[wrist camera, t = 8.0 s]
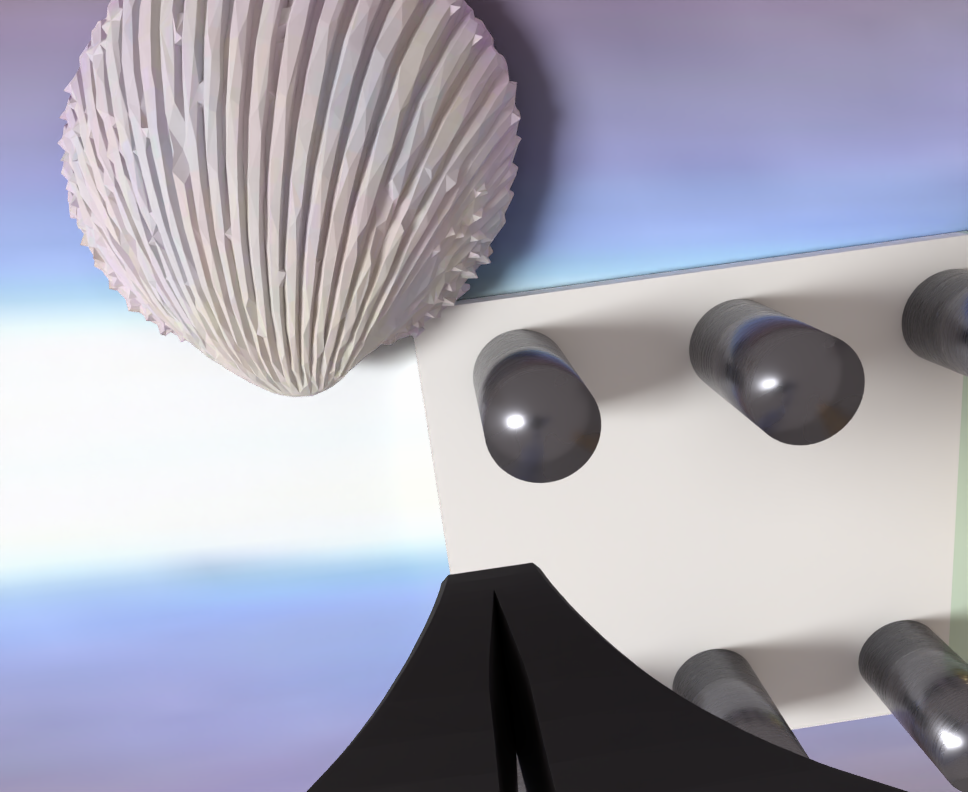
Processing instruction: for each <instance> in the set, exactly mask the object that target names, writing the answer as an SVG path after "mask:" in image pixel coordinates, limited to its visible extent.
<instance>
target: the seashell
mask: <svg viewBox="0 0 968 792" xmlns="http://www.w3.org/2000/svg"><path fill="white" fill-rule="evenodd" d="M79 62H80V67H79V69H78V71H77V73H76V75H75V76H74V78H73V79H72V81H71V82H70V83H69V84H68V86H67V87H66V88H65V90H64V91H66V92H68V93H71V96H70V98H69V100H68V103H67V107H66V110H65V111H64V112H63V113H62V114H61V116H60V118H61V119H64V120H67V122H68V123H67V124H66V125H64V130H63V136H62V138H61V139H60V140H59V142H58V144H59V145H60V146H61V147H62V148H63V149H64V150H65V153H64V155H63V157H62V159H61V161H64V163H63V168H62V172H61V174H62V175H63V176H64V177H65V178H66V179H67V180H68V183H67V187H66V190H68V202H69V211H70V218H76V219H77V226H78V228H79V229H81V230H82V232H83V233H84V235H83V238H82V241H81V244H80V245H83V246H88V247H89V249H90V251H91V252H92V254H93V259H94V260H95V263H94V266H95V267H97V268H98V269H100V270H102V271H103V273H104V274H105V275H106V277H107V278H108V279H109V289H113V290H117V291H118V292H119V293H120V294H121V295H122V296H123V297H124V298H125V299H126V303H127V307H128V310H129V311H132V312H140V313H141V314H143V315H144V317H145V319H146V321H151V322H153V323H155V324H157V325H158V328H159V331H160V334H162V335H165V336H166V335H167V334H168V333H170V332H172V333H173V334H175V335H177V336H178V338H179V339H180V341H181V342H183V341H185V340H186V341H188V342H190V343H191V344H192V345H193V346H195V347H196V348H197V349H199V350H200V351H201V352H202V353H204V354H205V355H206V356H207V357H208V358H210V359H211V360H213V361H215V362H216V363H218V364H220V365H222V366H223V367H224V368H226V369H227V370H229V371H231V372H232V373H234V374H236V375H238V376H239V377H241V378H243V379H245V380H247V381H248V382H250V383H252V384H254V385H256V386H259V387H261V388H263V389H265V390H268V391H270V392H272V393H276V394H279V395H285V396H291V397H301V396H313V395H316V394H318V393H320V392H323V391H325V390H327V389H329V388H330V387H332V386H334V385H335V384H336V383H337V382H339V381H340V380H341V379H342V378H343V377H344V376H345V375H346V374H347V373H348V372H349V371H350V370H351V369H352V368H354V367H355V366H356V365H357V364H358V363H359V362H360V361H361V360H362V359H363V358H364V357H365V356H367V355H368V354H369V353H371V352H372V351H374V350H375V349H377V348H378V347H379V346H380V345H381V344H386V345H392V344H393V343H395V342H396V341H397V340H399V339H402V338H405V337H408V336H410V335H411V336H412V337H414V338H416V337H417V336H419V335H420V334H421V333H422V332H423V331H424V330H425V329H424V328H423V326H424V322H426V321H427V320H429V319H431V318H432V317H433V318H441V311H442V310H443V309H445V308H446V307H448V306H454V304H455V301H456V300H457V299H458V298H460V297H461V296H462V295H463V294H465V293H466V292H467V291H468V290H470V284H466V283H465V282H466V281H467V279H468V278H478V276H477V274H476V272H475V270H476V269H477V268H478V267H479V266H480V265H481V264H489V263H491V261H490V259H489V258H488V257H489V256H490V255H491V254H492V253H493V250H492V248H491V247H490V244H491V243H492V241H493V240H494V238H495V237H496V236H497V234H498V233H499V231H500V230H501V228H502V227H503V226H504V224H505V223H506V219H505V212H506V210H507V208H508V206H509V204H510V202H511V200H512V198H513V196H514V193H513V191H511V190H510V187H511V185H512V183H513V181H514V179H515V177H516V174H517V171H518V167H517V166H516V165H515V164H514V163H512V162H513V159H514V156H515V153H516V150H517V147H518V144H519V142H520V140H521V139H522V138H520V137H519V136H517V135H516V133H517V129H518V124H519V120H520V119H521V117H520V112H519V110H517V108H516V106H515V95H516V87H517V82H513V81H509V74H508V66H507V63H506V60H505V58H504V56H503V55H501V54H499V53H498V52H497V50H496V49H495V48H494V39H493V37H492V36H491V34H490V33H489V32H488V30H487V28H486V27H485V25H484V23H483V22H482V20H480V19H478V18H476V17H474V12H473V9H472V8H471V7H470V6H468V5H467V3H466V2H465V1H464V0H111V2H110V3H109V5H108V8H107V17H106V18H105V19H104V20H101V21H98V22H97V25H96V27H95V28H94V29H93V30H92V34H91V41H90V42H89V43H88V45H87V46H86V48H85V49H84V51H83V52H82V54H81V55H80V57H79Z"/></svg>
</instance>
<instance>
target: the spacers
mask: <svg viewBox="0 0 968 792" xmlns="http://www.w3.org/2000/svg"><path fill="white" fill-rule="evenodd" d="M902 332H903V336H904V339H905V341H906V343H907V345H908V347H909V348H910V349H911V350H912V351H913V352H914V353H915V354H916V355H918V356H919V357H921V358H923V359H925V360H928V361H930V362H933V363H935V364H937V365H940V366H942V367H945V368H947V369H950V370H952V371H954V372H957V373H959V374H962V375H964V376H967V377H968V270H963V269H949V270H944V271H941V272H938V273H936V274H934V275H932V276H930V277H928V278H927V279H925V280H924V281H923V282H922V283H920V284H919V285H918V286H917V287H916V289H915V290H914V291H913V292H912V294H911V295H910V297H909V299H908V301H907V303H906V305H905V308H904V310H903V315H902ZM689 355H690V361H691V364H692V367H693V369H694V371H695V373H696V374H697V376H698V377H699V378H700V379H701V380H702V381H703V382H704V383H705V384H707V385H708V386H709V387H710V388H711V389H713V390H714V391H715V392H716V393H718V394H719V395H720V396H721V397H722V398H724V399H725V400H726V401H727V402H729V403H730V404H731V405H732V406H733V407H735V408H736V409H737V410H738V411H740V412H741V413H742V414H743V415H744V416H746V417H747V418H748V419H749V420H750V421H752V422H753V423H754V424H755V425H757V426H758V427H759V428H760V429H761V430H763V431H764V432H765V433H766V434H768V435H769V436H770V437H772V438H773V439H775V440H777V441H779V442H782V443H785V444H790V445H800V446H801V445H810V444H815V443H818V442H821V441H824V440H826V439H828V438H830V437H832V436H833V435H835V434H836V433H838V432H839V431H840V430H842V429H843V428H844V427H845V426H846V425H847V424H848V423H849V421H850V420H851V419H852V418H853V416H854V415H855V413H856V412H857V410H858V408H859V406H860V403H861V401H862V398H863V393H864V387H865V375H864V370H863V366H862V363H861V361H860V359H859V357H858V355H857V354H856V353H855V351H854V350H853V349H852V348H851V347H850V346H849V345H848V344H847V343H845V342H844V341H842V340H841V339H839V338H837V337H835V336H832V335H830V334H828V333H826V332H823V331H821V330H819V329H817V328H814V327H812V326H810V325H808V324H805V323H803V322H801V321H799V320H796V319H794V318H792V317H790V316H788V315H785V314H783V313H781V312H779V311H776V310H774V309H772V308H770V307H767V306H765V305H763V304H761V303H758V302H756V301H753V300H748V299H733V300H728V301H725V302H722V303H720V304H718V305H716V306H715V307H713V308H711V309H710V310H709V311H708V312H706V313H705V314H704V315H703V317H702V318H701V319H700V320H699V322H698V323H697V325H696V326H695V328H694V330H693V333H692V336H691V339H690V345H689ZM473 384H474V389H475V394H476V398H477V403H478V408H479V413H480V418H481V423H482V427H483V432H484V437H485V442H486V446H487V448H488V451H489V453H490V455H491V457H492V458H493V460H494V461H495V462H496V464H497V465H498V466H499V467H500V468H501V469H502V470H504V471H505V472H506V473H508V474H509V475H511V476H513V477H515V478H517V479H519V480H523V481H526V482H532V483H549V482H554V481H558V480H561V479H564V478H566V477H568V476H570V475H572V474H573V473H575V472H576V471H578V470H579V469H580V468H581V467H583V466H584V465H585V463H586V462H587V461H588V460H589V459H590V457H591V456H592V455H593V453H594V451H595V449H596V447H597V445H598V442H599V438H600V434H601V416H600V411H599V408H598V405H597V403H596V401H595V399H594V397H593V396H592V394H591V393H590V391H589V390H588V388H587V387H586V385H585V384H584V383H583V381H582V380H581V378H580V377H579V375H578V374H577V372H576V371H575V370H574V368H573V367H572V365H571V364H570V362H569V361H568V359H567V358H566V356H565V355H564V354H563V352H562V351H561V349H560V348H559V347H558V345H557V344H556V343H555V342H554V341H553V340H551V339H550V338H549V337H547V336H546V335H544V334H542V333H539V332H536V331H533V330H525V329H519V330H512V331H508V332H505V333H502V334H500V335H498V336H496V337H495V338H493V339H492V340H491V341H490V342H488V343H487V344H486V345H485V347H484V348H483V349H482V350H481V352H480V353H479V355H478V357H477V359H476V362H475V365H474V370H473ZM858 666H859V671H860V674H861V676H862V678H863V679H864V680H865V682H866V683H867V684H868V685H869V686H870V688H871V689H872V690H873V691H874V692H875V694H876V695H877V696H878V697H879V698H880V700H881V701H882V702H883V703H884V704H885V706H886V707H887V708H888V709H889V710H890V712H891V713H892V714H893V715H894V716H895V718H896V719H897V720H898V721H899V722H900V724H901V725H902V726H903V727H904V728H905V730H906V731H907V732H908V733H909V734H910V736H911V737H912V738H913V739H914V740H915V742H916V743H917V744H918V745H919V746H920V748H921V749H922V750H923V751H924V752H925V754H926V755H927V756H928V757H929V758H930V760H931V761H932V762H933V763H934V764H935V766H936V767H937V768H938V769H939V770H940V772H941V773H942V774H943V775H944V776H945V778H946V779H947V780H948V781H949V782H950V783H951V785H953V786H954V787H955V788H956V789H958V790H960V791H962V792H968V664H967V663H966V662H965V661H964V660H963V659H962V658H961V657H960V656H959V655H958V654H957V653H955V652H954V651H953V650H952V649H951V648H950V647H949V646H948V645H947V644H946V643H945V642H944V641H943V640H942V639H941V638H940V637H938V636H937V635H936V634H935V633H934V632H933V631H932V630H931V629H930V628H929V627H928V626H926V625H924V624H922V623H920V622H917V621H912V620H901V621H896V622H892V623H889V624H887V625H885V626H883V627H881V628H879V629H878V630H877V631H875V632H874V633H873V634H872V635H871V636H870V637H869V638H868V639H867V640H866V642H865V643H864V645H863V647H862V649H861V651H860V654H859V660H858ZM672 691H674V692H675V693H677V694H678V695H680V696H682V697H683V698H685V699H687V700H688V701H690V702H692V703H693V704H695V705H697V706H699V707H700V708H702V709H704V710H706V711H708V712H709V713H711V714H713V715H715V716H717V717H719V718H721V719H723V720H725V721H727V722H728V723H730V724H732V725H734V726H736V727H738V728H740V729H742V730H744V731H746V732H748V733H750V734H752V735H755V736H757V737H759V738H761V739H763V740H766V741H768V742H770V743H772V744H774V745H777V746H779V747H782V748H784V749H787V750H789V751H791V752H794V753H796V754H799V755H801V756H804V757H806V758H809V757H808V756H807V754H806V753H805V751H804V749H803V748H802V746H801V745H800V743H799V742H798V740H797V738H796V737H795V735H794V734H793V732H792V730H791V729H790V727H789V726H788V724H787V723H786V721H785V719H784V718H783V716H782V715H781V713H780V712H779V710H778V708H777V707H776V705H775V704H774V702H773V701H772V699H771V697H770V696H769V694H768V693H767V691H766V689H765V688H764V686H763V685H762V683H761V682H760V680H759V678H758V677H757V675H756V674H755V672H754V671H753V669H752V667H751V666H750V664H749V663H748V661H747V660H746V659H745V658H744V657H742V656H741V655H740V654H738V653H736V652H734V651H731V650H727V649H710V650H706V651H703V652H700V653H698V654H696V655H694V656H692V657H691V658H689V659H688V660H687V661H686V662H685V663H684V664H683V665H682V666H681V667H680V668H679V670H678V671H677V673H676V675H675V677H674V681H673V686H672ZM517 774H518V792H526V788H525V784H524V781H523V777H522V773H521V769H520V765H519V761H518V757H517Z"/></svg>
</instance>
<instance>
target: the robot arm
mask: <svg viewBox="0 0 968 792" xmlns="http://www.w3.org/2000/svg"><path fill="white" fill-rule="evenodd" d="M517 757H518V761H519V765H520V769H521V773H522V777H523V781H524V784H525V788H526V792H907V791H904V790H901V789H898V788H895V787H892V786H888V785H885V784H882V783H879V782H876V781H873V780H870V779H867V778H863V777H860V776H857V775H854V774H851V773H848V772H845V771H841V770H838V769H835V768H832V767H829V766H827V765H824V764H821V763H818V762H816V761H814V760H811V759H809V758H806V757H804V756H801V755H799V754H796V753H794V752H791V751H789V750H787V749H784V748H782V747H779V746H777V745H774V744H772V743H770V742H768V741H766V740H763V739H761V738H759V737H757V736H755V735H752V734H750V733H748V732H746V731H744V730H742V729H740V728H738V727H736V726H734V725H732V724H730V723H728V722H727V721H725V720H723V719H721V718H719V717H717V716H715V715H713V714H711V713H709V712H708V711H706V710H704V709H702V708H700V707H699V706H697V705H695V704H693V703H692V702H690V701H688V700H687V699H685V698H683V697H682V696H680V695H678V694H677V693H675V692H674V691H672V690H671V689H669V688H668V687H666V686H665V685H663V684H662V683H660V682H659V681H657V680H656V679H654V678H653V677H652V676H650V675H649V674H648V673H646V672H645V671H644V670H642V669H641V668H640V667H638V666H637V665H636V664H635V663H633V662H632V661H631V660H630V659H629V658H627V657H626V656H625V655H624V654H622V653H621V652H620V651H619V650H618V649H616V648H615V647H614V646H613V645H612V644H611V643H610V642H608V641H607V640H606V639H605V638H604V637H603V636H602V635H601V634H600V633H599V632H597V631H596V630H595V629H594V628H593V627H592V626H591V625H590V624H589V623H588V622H587V621H586V620H585V619H584V618H583V617H582V616H581V615H580V614H579V613H578V612H577V611H576V610H575V609H574V608H573V607H572V606H571V605H570V604H569V603H568V602H567V600H566V599H565V598H564V597H563V596H562V595H561V594H560V593H559V592H558V590H557V589H556V588H555V587H554V586H553V584H552V583H551V582H550V581H549V579H548V578H547V577H546V576H545V574H544V573H543V571H542V570H541V569H540V568H539V567H538V566H536V565H535V564H534V563H533V562H532V563H525V564H519V565H512V566H505V567H498V568H492V569H485V570H478V571H471V572H465V573H458V574H451V575H448V576H447V577H446V578H445V580H444V581H443V582H442V583H441V587H440V591H439V594H438V596H437V599H436V602H435V604H434V607H433V609H432V611H431V614H430V616H429V618H428V620H427V623H426V625H425V627H424V629H423V631H422V633H421V635H420V637H419V639H418V641H417V642H416V644H415V646H414V648H413V650H412V652H411V654H410V656H409V658H408V660H407V661H406V663H405V665H404V666H403V668H402V670H401V671H400V673H399V675H398V676H397V678H396V679H395V681H394V683H393V684H392V686H391V687H390V689H389V691H388V692H387V694H386V696H385V697H384V699H383V700H382V702H381V703H380V705H379V706H378V707H377V709H376V710H375V712H374V713H373V715H372V716H371V717H370V719H369V720H368V721H367V723H366V724H365V725H364V727H363V728H362V729H361V731H360V732H359V733H358V734H357V736H356V737H355V738H354V740H353V741H352V742H351V743H350V745H349V746H348V747H347V748H346V750H345V751H344V752H343V753H342V754H341V755H340V756H339V758H338V759H337V760H336V761H335V762H334V763H333V764H332V765H331V766H330V768H329V769H328V770H327V771H326V772H325V773H324V774H323V775H322V776H321V777H320V778H319V779H318V780H317V781H316V782H315V783H314V784H313V786H312V787H311V788H310V789H309V790H308V791H307V792H518V774H517Z"/></svg>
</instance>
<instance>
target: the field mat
mask: <svg viewBox="0 0 968 792" xmlns="http://www.w3.org/2000/svg"><path fill="white" fill-rule="evenodd" d="M949 269H963V270H968V231H961V232H953V233H946V234H939V235H932V236H924V237H917V238H910V239H902V240H895V241H888V242H881V243H873V244H866V245H859V246H852V247H844V248H837V249H830V250H823V251H815V252H808V253H801V254H794V255H786V256H779V257H772V258H765V259H757V260H750V261H743V262H736V263H728V264H721V265H714V266H707V267H699V268H692V269H685V270H677V271H670V272H663V273H656V274H648V275H641V276H634V277H627V278H619V279H612V280H605V281H598V282H590V283H583V284H576V285H569V286H561V287H554V288H547V289H540V290H532V291H525V292H518V293H511V294H503V295H496V296H489V297H482V298H474V299H467V300H460V301H455V304H454V306H448V307H446V308H445V309H443V310H442V311H441V318H433V317H432V318H431V319H429V320H427V321H426V322H424V326H423V328H424V329H425V330H424V331H423V332H422V333H421V334H420V335H419V336H417V337H416V338H414V344H415V350H416V356H417V363H418V369H419V376H420V382H421V389H422V395H423V401H424V408H425V414H426V421H427V427H428V433H429V440H430V446H431V453H432V459H433V465H434V472H435V478H436V485H437V491H438V498H439V504H440V510H441V517H442V523H443V530H444V536H445V542H446V549H447V555H448V562H449V568H450V574H458V573H465V572H471V571H478V570H485V569H492V568H498V567H505V566H512V565H519V564H525V563H532V562H533V563H534V564H535V565H536V566H538V567H539V568H540V569H541V570H542V571H543V573H544V574H545V576H546V577H547V578H548V579H549V581H550V582H551V583H552V584H553V586H554V587H555V588H556V589H557V590H558V592H559V593H560V594H561V595H562V596H563V597H564V598H565V599H566V600H567V602H568V603H569V604H570V605H571V606H572V607H573V608H574V609H575V610H576V611H577V612H578V613H579V614H580V615H581V616H582V617H583V618H584V619H585V620H586V621H587V622H588V623H589V624H590V625H591V626H592V627H593V628H594V629H595V630H596V631H597V632H599V633H600V634H601V635H602V636H603V637H604V638H605V639H606V640H607V641H608V642H610V643H611V644H612V645H613V646H614V647H615V648H616V649H618V650H619V651H620V652H621V653H622V654H624V655H625V656H626V657H627V658H629V659H630V660H631V661H632V662H633V663H635V664H636V665H637V666H638V667H640V668H641V669H642V670H644V671H645V672H646V673H648V674H649V675H650V676H652V677H653V678H654V679H656V680H657V681H659V682H660V683H662V684H663V685H665V686H666V687H668V688H669V689H671V690H672V686H673V681H674V677H675V675H676V673H677V671H678V670H679V668H680V667H681V666H682V665H683V664H684V663H685V662H686V661H687V660H688V659H689V658H691V657H692V656H694V655H696V654H698V653H700V652H703V651H706V650H710V649H727V650H731V651H734V652H736V653H738V654H740V655H741V656H742V657H744V658H745V659H746V660H747V661H748V663H749V664H750V666H751V667H752V669H753V671H754V672H755V674H756V675H757V677H758V678H759V680H760V682H761V683H762V685H763V686H764V688H765V689H766V691H767V693H768V694H769V696H770V697H771V699H772V701H773V702H774V704H775V705H776V707H777V708H778V710H779V712H780V713H781V715H782V716H783V718H784V719H785V721H786V723H787V724H788V726H789V727H790V729H791V730H793V729H799V728H806V727H812V726H818V725H825V724H831V723H838V722H844V721H851V720H857V719H863V718H870V717H876V716H883V715H889V714H892V713H891V712H890V710H889V709H888V708H887V707H886V706H885V704H884V703H883V702H882V701H881V700H880V698H879V697H878V696H877V695H876V694H875V692H874V691H873V690H872V689H871V688H870V686H869V685H868V684H867V683H866V682H865V680H864V679H863V678H862V676H861V674H860V671H859V666H858V660H859V654H860V651H861V649H862V647H863V645H864V643H865V642H866V640H867V639H868V638H869V637H870V636H871V635H872V634H873V633H874V632H875V631H877V630H878V629H879V628H881V627H883V626H885V625H887V624H889V623H892V622H896V621H901V620H912V621H917V622H920V623H922V624H924V625H926V626H928V627H929V628H930V629H931V630H932V631H933V632H934V633H935V634H936V635H937V636H938V637H940V638H941V639H942V640H943V641H944V642H945V643H946V644H947V645H948V646H949V647H950V648H951V649H952V650H953V651H954V652H955V653H957V654H958V655H959V656H960V657H961V658H962V659H963V660H964V661H965V662H966V663H967V664H968V377H967V376H964V375H962V374H959V373H957V372H954V371H952V370H950V369H947V368H945V367H942V366H940V365H937V364H935V363H933V362H930V361H928V360H925V359H923V358H921V357H919V356H918V355H916V354H915V353H914V352H913V351H912V350H911V349H910V348H909V347H908V345H907V343H906V341H905V339H904V336H903V332H902V315H903V310H904V308H905V305H906V303H907V301H908V299H909V297H910V295H911V294H912V292H913V291H914V290H915V289H916V287H917V286H918V285H919V284H920V283H922V282H923V281H924V280H925V279H927V278H928V277H930V276H932V275H934V274H936V273H938V272H941V271H944V270H949ZM733 299H748V300H753V301H756V302H758V303H761V304H763V305H765V306H767V307H770V308H772V309H774V310H776V311H779V312H781V313H783V314H785V315H788V316H790V317H792V318H794V319H796V320H799V321H801V322H803V323H805V324H808V325H810V326H812V327H814V328H817V329H819V330H821V331H823V332H826V333H828V334H830V335H832V336H835V337H837V338H839V339H841V340H842V341H844V342H845V343H847V344H848V345H849V346H850V347H851V348H852V349H853V350H854V351H855V353H856V354H857V355H858V357H859V359H860V361H861V363H862V366H863V370H864V375H865V387H864V393H863V398H862V401H861V403H860V406H859V408H858V410H857V412H856V413H855V415H854V416H853V418H852V419H851V420H850V421H849V423H848V424H847V425H846V426H845V427H844V428H843V429H842V430H840V431H839V432H838V433H836V434H835V435H833V436H832V437H830V438H828V439H826V440H824V441H821V442H818V443H815V444H810V445H801V446H800V445H790V444H785V443H782V442H779V441H777V440H775V439H773V438H772V437H770V436H769V435H768V434H766V433H765V432H764V431H763V430H761V429H760V428H759V427H758V426H757V425H755V424H754V423H753V422H752V421H750V420H749V419H748V418H747V417H746V416H744V415H743V414H742V413H741V412H740V411H738V410H737V409H736V408H735V407H733V406H732V405H731V404H730V403H729V402H727V401H726V400H725V399H724V398H722V397H721V396H720V395H719V394H718V393H716V392H715V391H714V390H713V389H711V388H710V387H709V386H708V385H707V384H705V383H704V382H703V381H702V380H701V379H700V378H699V377H698V376H697V374H696V373H695V371H694V369H693V367H692V364H691V361H690V355H689V345H690V339H691V336H692V333H693V330H694V328H695V326H696V325H697V323H698V322H699V320H700V319H701V318H702V317H703V315H704V314H705V313H706V312H708V311H709V310H710V309H711V308H713V307H715V306H716V305H718V304H720V303H722V302H725V301H728V300H733ZM519 329H525V330H533V331H536V332H539V333H542V334H544V335H546V336H547V337H549V338H550V339H551V340H553V341H554V342H555V343H556V344H557V345H558V347H559V348H560V349H561V351H562V352H563V354H564V355H565V356H566V358H567V359H568V361H569V362H570V364H571V365H572V367H573V368H574V370H575V371H576V372H577V374H578V375H579V377H580V378H581V380H582V381H583V383H584V384H585V385H586V387H587V388H588V390H589V391H590V393H591V394H592V396H593V397H594V399H595V401H596V403H597V405H598V408H599V411H600V416H601V434H600V438H599V442H598V445H597V447H596V449H595V451H594V453H593V455H592V456H591V457H590V459H589V460H588V461H587V462H586V463H585V465H584V466H583V467H581V468H580V469H579V470H578V471H576V472H575V473H573V474H572V475H570V476H568V477H566V478H564V479H561V480H558V481H554V482H549V483H532V482H526V481H523V480H519V479H517V478H515V477H513V476H511V475H509V474H508V473H506V472H505V471H504V470H502V469H501V468H500V467H499V466H498V465H497V464H496V462H495V461H494V460H493V458H492V457H491V455H490V453H489V451H488V448H487V446H486V442H485V437H484V432H483V427H482V423H481V418H480V413H479V408H478V403H477V398H476V394H475V389H474V384H473V370H474V365H475V362H476V359H477V357H478V355H479V353H480V352H481V350H482V349H483V348H484V347H485V345H486V344H487V343H488V342H490V341H491V340H492V339H493V338H495V337H496V336H498V335H500V334H502V333H505V332H508V331H512V330H519Z"/></svg>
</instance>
